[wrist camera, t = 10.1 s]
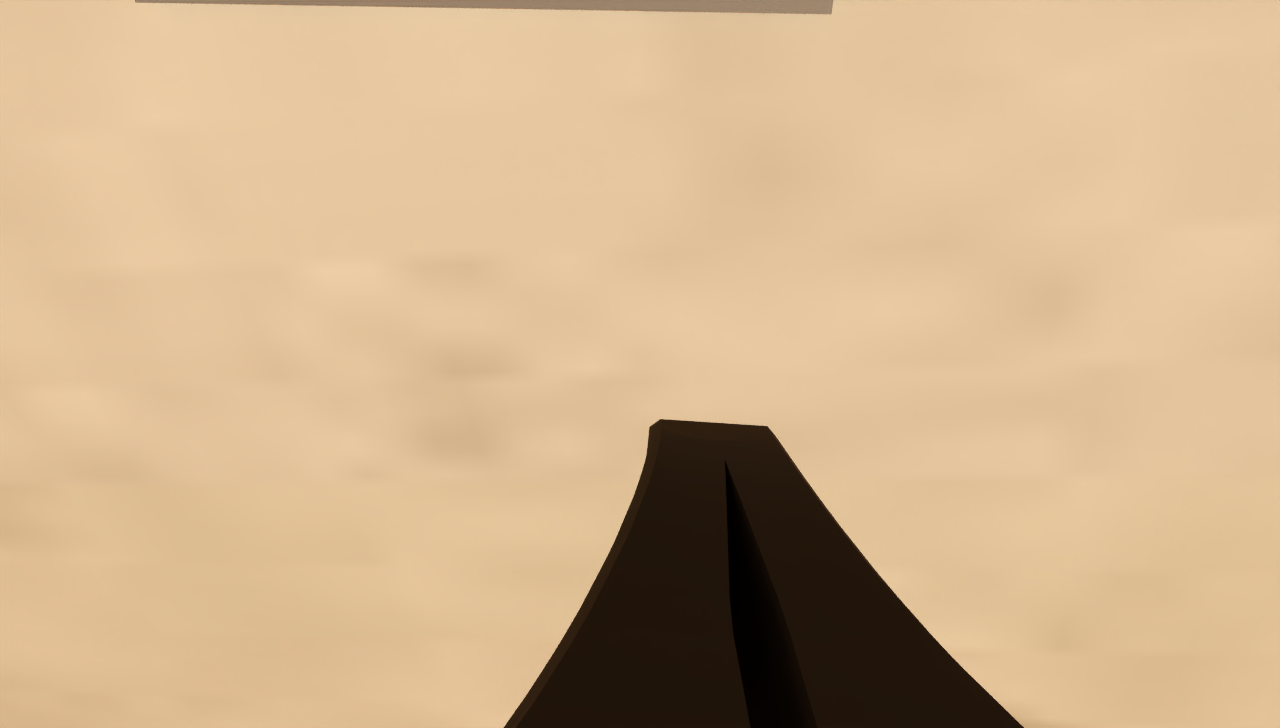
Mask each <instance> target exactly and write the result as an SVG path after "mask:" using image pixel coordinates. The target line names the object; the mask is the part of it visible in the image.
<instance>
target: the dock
mask: <svg viewBox="0 0 1280 728" xmlns="http://www.w3.org/2000/svg"><path fill="white" fill-rule="evenodd" d="M135 2H139V3H199V4H258V5H317V6H376V7H436V8H495V9H554V10H614V11H673V12H732V13H791V14H831V13H832V5H833V0H135Z"/></svg>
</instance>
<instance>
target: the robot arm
mask: <svg viewBox="0 0 1280 728" xmlns="http://www.w3.org/2000/svg"><path fill="white" fill-rule="evenodd" d="M504 728H1024V727H1023V726H1022V725H1021V724H1019V723H1018V722H1017V721H1016V720H1015V719H1014V718H1013V717H1012V716H1011V715H1010V714H1009V713H1008V712H1007V711H1006V710H1005V709H1004V708H1003V707H1002V706H1001V705H1000V704H999V703H998V702H997V701H996V700H995V699H994V698H993V697H992V696H991V695H990V694H989V693H988V692H987V691H986V690H985V689H984V688H983V687H982V686H981V685H980V684H979V683H977V682H976V681H975V680H974V679H973V678H972V677H971V676H970V675H969V674H968V673H967V672H966V671H965V670H964V669H963V668H962V667H961V666H960V665H959V664H958V663H957V662H956V661H955V660H954V659H953V658H952V657H951V655H950V654H949V653H948V652H947V651H946V650H945V649H944V648H943V647H942V646H941V645H940V644H939V643H938V642H937V641H936V639H935V638H934V637H933V636H932V635H931V634H930V633H929V632H928V631H927V630H926V628H925V627H924V626H923V625H922V624H921V623H920V622H919V621H918V619H917V618H916V617H915V616H914V615H913V614H912V613H911V611H910V610H909V609H908V608H907V607H906V606H905V605H904V604H903V602H902V601H901V600H900V599H899V598H898V597H897V596H896V594H895V593H894V592H893V591H892V590H891V588H890V587H889V586H888V585H887V584H886V583H885V581H884V580H883V579H882V578H881V577H880V575H879V574H878V573H877V572H876V571H875V569H874V568H873V567H872V566H871V564H870V563H869V562H868V561H867V559H866V558H865V557H864V556H863V554H862V553H861V552H860V550H859V549H858V548H857V547H856V545H855V544H854V543H853V542H852V540H851V539H850V538H849V537H848V535H847V534H846V533H845V532H844V530H843V529H842V528H841V527H840V525H839V524H838V523H837V521H836V520H835V519H834V517H833V516H832V515H831V513H830V512H829V511H828V509H827V508H826V507H825V505H824V504H823V503H822V501H821V500H820V498H819V497H818V496H817V494H816V493H815V492H814V490H813V489H812V487H811V486H810V485H809V483H808V482H807V481H806V479H805V478H804V476H803V475H802V473H801V472H800V471H799V469H798V468H797V466H796V465H795V463H794V462H793V461H792V459H791V458H790V456H789V455H788V453H787V452H786V451H785V449H784V448H783V446H782V445H781V443H780V442H779V440H778V439H777V438H776V436H775V435H774V434H773V432H772V431H771V430H770V429H769V428H768V426H755V425H740V424H725V423H710V422H694V421H679V420H664V419H660V420H659V421H657V422H656V423H655V424H653V425H652V426H650V428H649V438H648V448H647V456H646V460H645V464H644V467H643V471H642V474H641V477H640V480H639V483H638V486H637V489H636V491H635V494H634V497H633V499H632V502H631V504H630V506H629V509H628V511H627V514H626V516H625V518H624V521H623V523H622V525H621V528H620V530H619V533H618V535H617V537H616V540H615V542H614V544H613V546H612V548H611V550H610V552H609V554H608V556H607V558H606V560H605V562H604V564H603V566H602V568H601V570H600V572H599V573H598V575H597V577H596V579H595V581H594V583H593V585H592V587H591V589H590V591H589V593H588V595H587V596H586V598H585V600H584V602H583V604H582V606H581V608H580V610H579V611H578V613H577V615H576V617H575V618H574V620H573V622H572V623H571V625H570V627H569V629H568V630H567V632H566V634H565V635H564V637H563V639H562V640H561V642H560V644H559V645H558V647H557V649H556V650H555V652H554V653H553V655H552V657H551V658H550V660H549V661H548V663H547V664H546V666H545V667H544V669H543V671H542V672H541V674H540V675H539V677H538V678H537V680H536V682H535V683H534V685H533V686H532V688H531V689H530V691H529V692H528V694H527V695H526V697H525V698H524V700H523V701H522V702H521V704H520V705H519V707H518V708H517V709H516V711H515V712H514V714H513V715H512V717H511V718H510V719H509V721H508V722H507V724H506V725H505V727H504Z"/></svg>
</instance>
